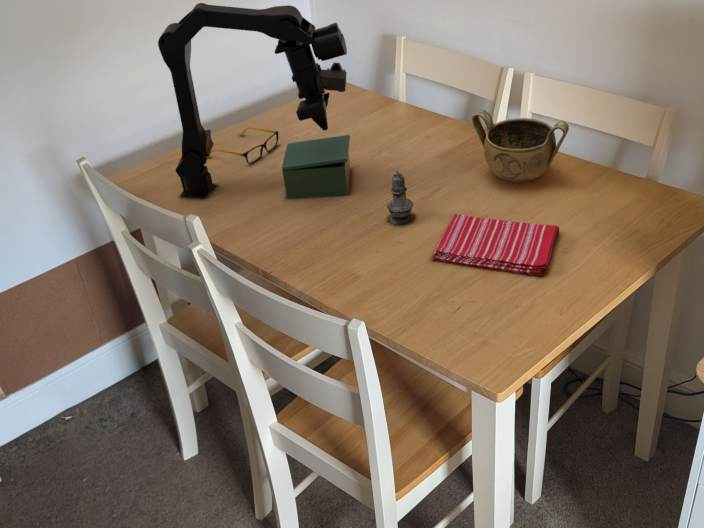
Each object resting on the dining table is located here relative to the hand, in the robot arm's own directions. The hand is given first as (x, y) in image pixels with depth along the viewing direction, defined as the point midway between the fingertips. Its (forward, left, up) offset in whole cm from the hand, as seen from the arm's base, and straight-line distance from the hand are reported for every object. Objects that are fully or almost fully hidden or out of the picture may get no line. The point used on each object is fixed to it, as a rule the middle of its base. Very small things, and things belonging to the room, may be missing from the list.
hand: (325, 129), depth 186 cm
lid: (-3, -1, -6) cm, 7 cm away
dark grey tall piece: (+21, -14, -14) cm, 29 cm away
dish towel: (+44, -22, -14) cm, 51 cm away
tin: (-3, -1, -14) cm, 14 cm away
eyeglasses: (-29, +13, -14) cm, 35 cm away
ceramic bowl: (+44, +10, -14) cm, 47 cm away
